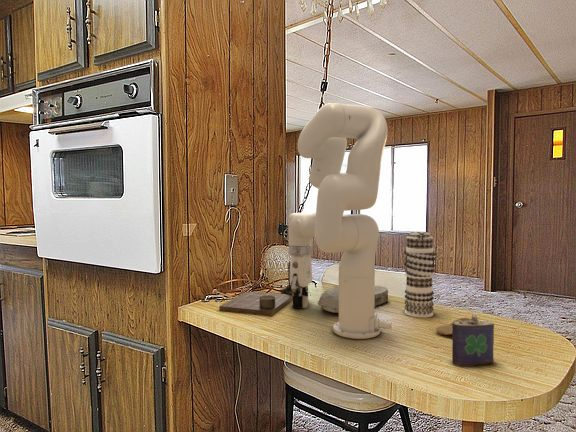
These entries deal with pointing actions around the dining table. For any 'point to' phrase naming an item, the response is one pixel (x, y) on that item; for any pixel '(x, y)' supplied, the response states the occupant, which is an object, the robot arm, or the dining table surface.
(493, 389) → the dining table surface
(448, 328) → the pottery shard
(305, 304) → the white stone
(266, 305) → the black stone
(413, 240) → the decorative candle
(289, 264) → the dark post with base
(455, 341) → the flask
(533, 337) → the dining table surface
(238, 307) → the board
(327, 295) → the fossil stone
